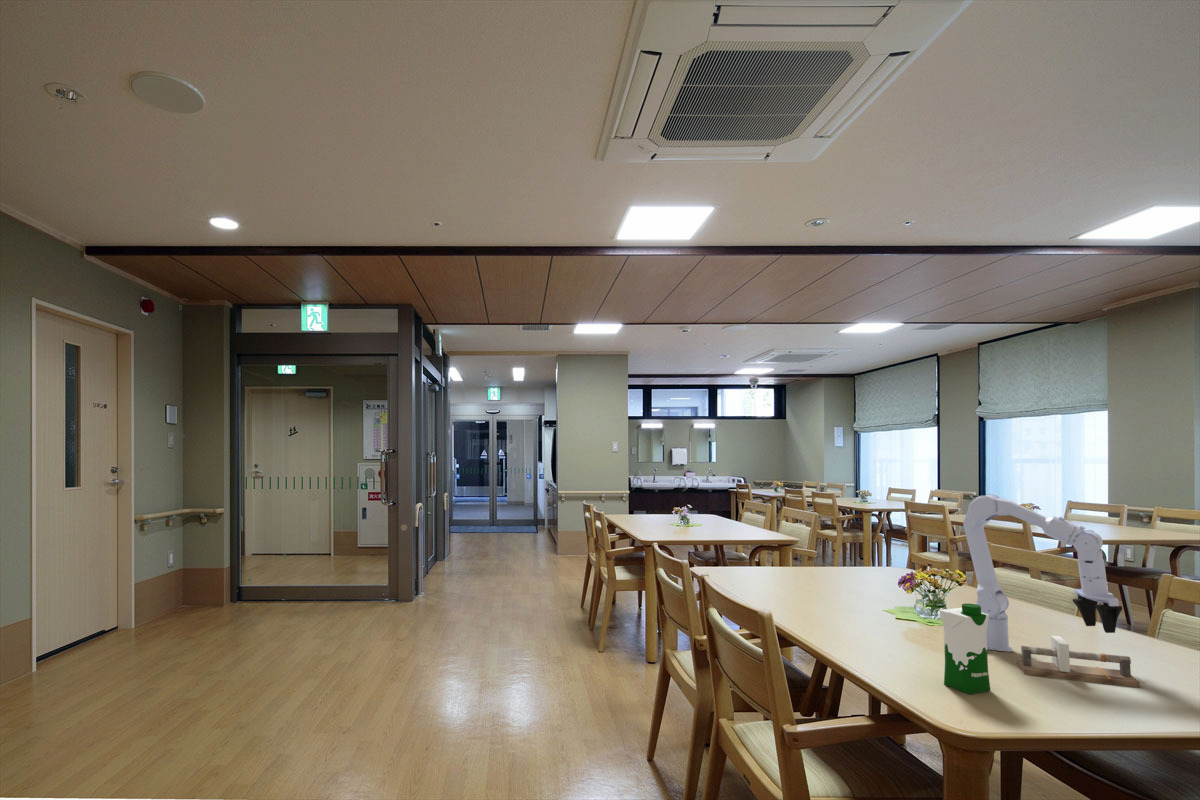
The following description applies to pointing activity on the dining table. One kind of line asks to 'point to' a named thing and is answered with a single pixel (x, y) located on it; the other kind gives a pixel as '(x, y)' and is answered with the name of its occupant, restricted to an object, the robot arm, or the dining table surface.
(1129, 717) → the dining table surface
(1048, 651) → the slider rail
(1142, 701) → the dining table surface
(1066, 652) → the collar
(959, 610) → the milk carton
